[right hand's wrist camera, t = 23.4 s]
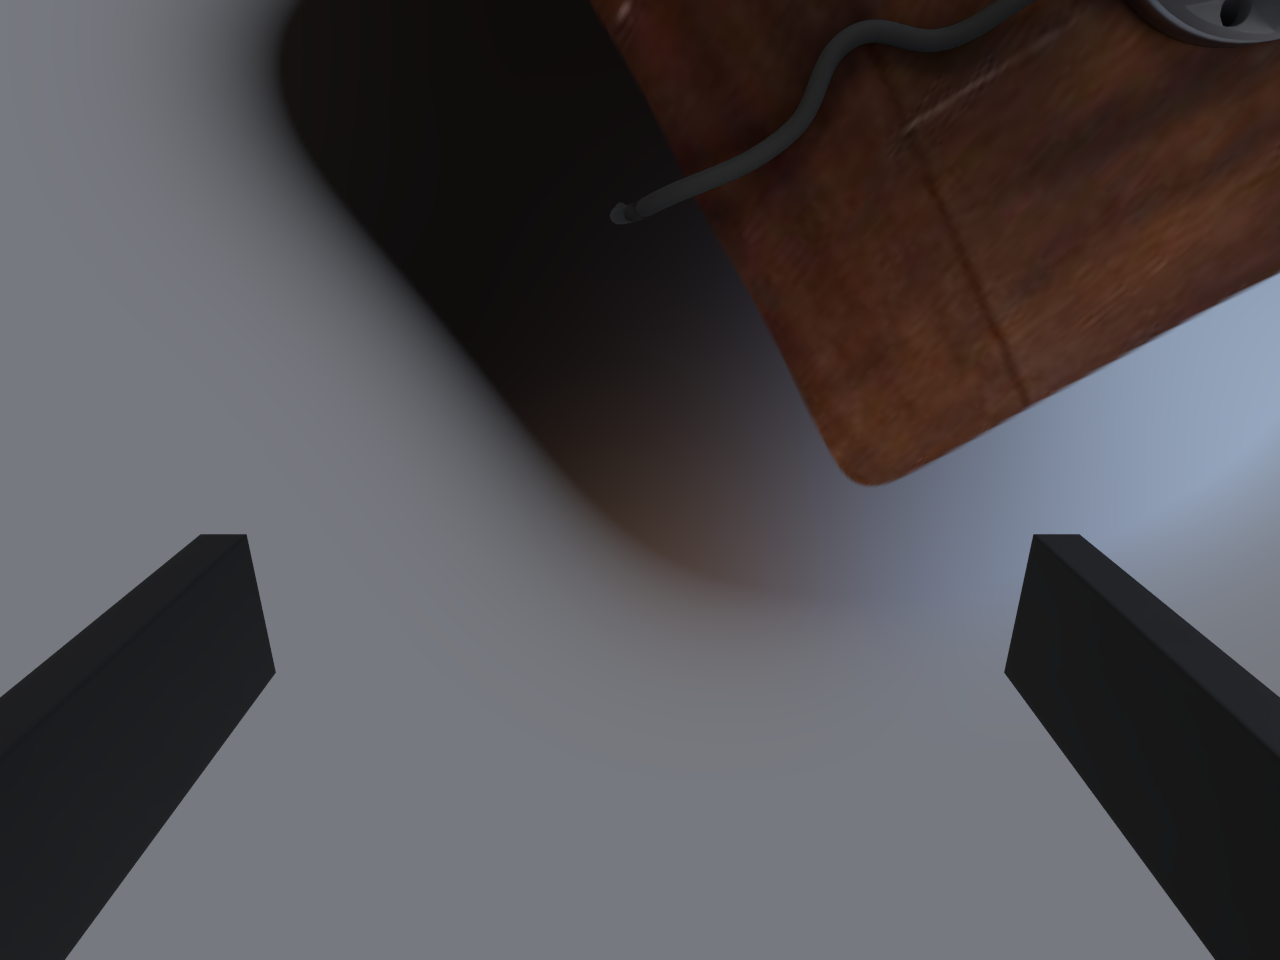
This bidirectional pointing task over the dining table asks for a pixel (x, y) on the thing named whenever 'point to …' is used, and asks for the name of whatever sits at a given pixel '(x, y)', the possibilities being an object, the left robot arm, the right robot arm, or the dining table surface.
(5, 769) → the right robot arm
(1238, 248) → the dining table surface
